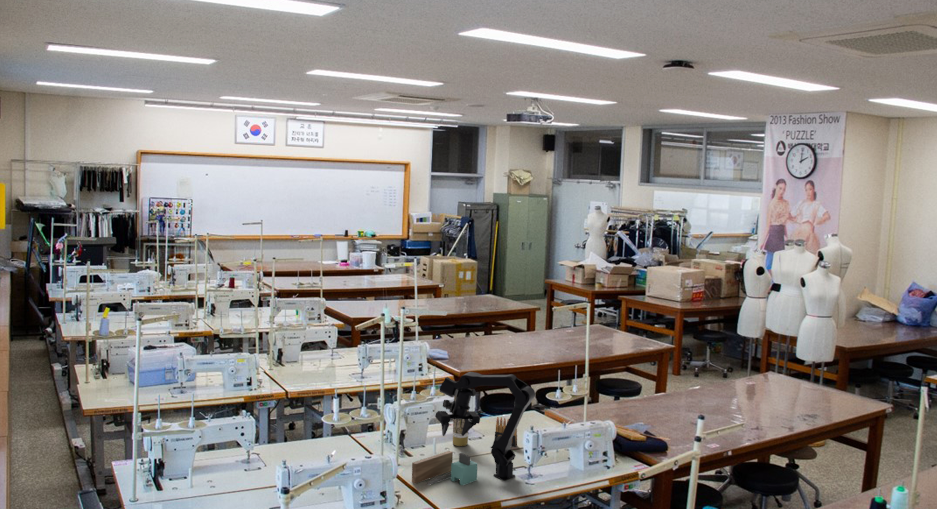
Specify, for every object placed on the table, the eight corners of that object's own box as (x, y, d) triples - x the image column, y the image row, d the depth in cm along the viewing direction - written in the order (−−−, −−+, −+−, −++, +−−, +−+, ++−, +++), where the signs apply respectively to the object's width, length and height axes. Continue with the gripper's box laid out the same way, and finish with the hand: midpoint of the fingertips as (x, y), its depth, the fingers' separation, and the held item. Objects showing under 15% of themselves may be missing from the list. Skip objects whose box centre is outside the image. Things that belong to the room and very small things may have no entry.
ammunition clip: (494, 442, 360) (495, 416, 358) (496, 441, 361) (496, 415, 360) (515, 447, 354) (516, 421, 353) (517, 445, 356) (518, 419, 355)
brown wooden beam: (459, 474, 322) (460, 455, 321) (422, 487, 308) (423, 467, 307) (448, 469, 326) (449, 450, 325) (411, 482, 312) (412, 462, 311)
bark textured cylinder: (466, 447, 352) (467, 392, 349) (451, 446, 353) (452, 391, 350) (469, 442, 358) (470, 388, 355) (454, 440, 360) (456, 387, 357)
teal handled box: (476, 480, 316) (477, 454, 315) (462, 485, 311) (463, 459, 309) (465, 475, 321) (466, 450, 320) (450, 480, 315) (451, 454, 314)
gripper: (472, 393, 337) (463, 425, 341) (434, 392, 328) (425, 425, 331) (485, 405, 328) (475, 439, 331) (446, 404, 318) (436, 439, 322)
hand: (452, 435), depth 329 cm, fingers open, 9 cm apart
